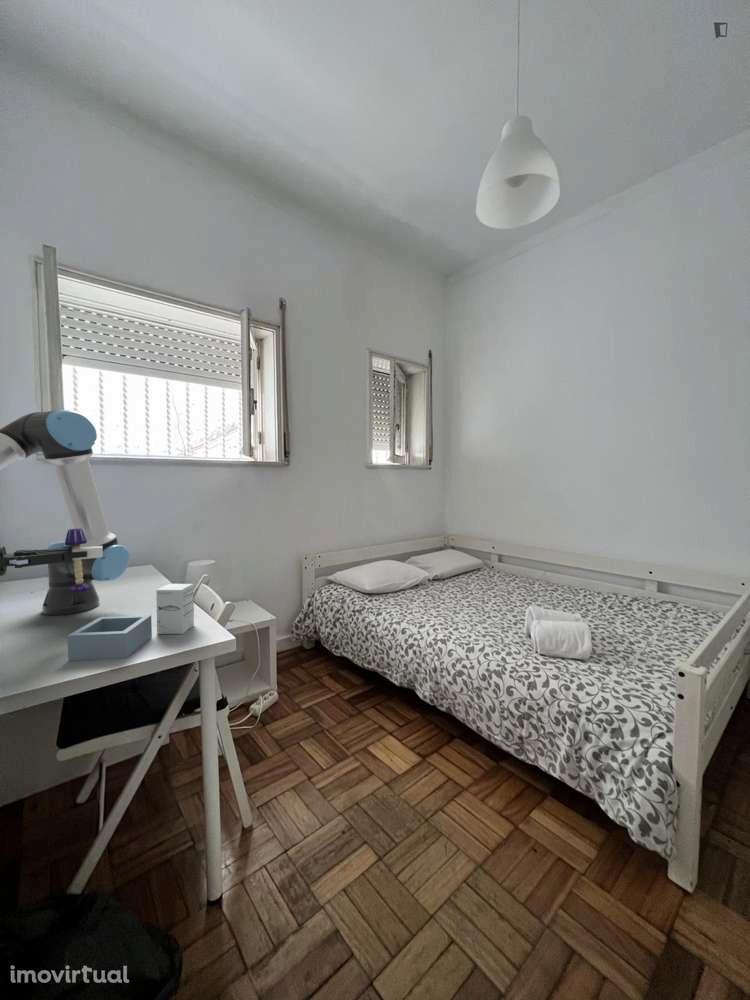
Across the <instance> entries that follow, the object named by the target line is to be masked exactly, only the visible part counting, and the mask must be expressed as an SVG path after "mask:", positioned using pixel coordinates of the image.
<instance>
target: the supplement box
mask: <svg viewBox="0 0 750 1000" xmlns="http://www.w3.org/2000/svg"><path fill="white" fill-rule="evenodd" d="M194 589H195V587H194V583H168V584H165V585H163V586H161V587H159V588H157V589H156V635H163V634H164V635H167V634H168V635H169V634H170V635H171V634H172V635H183V634H185V633H186V632H187V631H189V630H188V629H189V628H190V629H191V628H192V627H193V625H195V611H194V610H195V607H194V605H195V604H194V603H195V602H194V601H195V599H194V598H195V596H194V595H195V594H194V593H195V591H194Z"/></svg>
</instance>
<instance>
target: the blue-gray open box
mask: <svg viewBox="0 0 750 1000" xmlns="http://www.w3.org/2000/svg"><path fill="white" fill-rule="evenodd" d="M152 630H153V628H152V614H149V615H146V614H145V615H123V616H122V615H119V616H118V615H117V616H116V615H115V616H100V617H98V618H96V619H94V620H93V621H91V622H89V623H87V624H85V625H83V626H82V627H80V628H78V629H76V630H75V631H73V632H71V633H69V634H67V636H66V637H67V639H66V640H67V661H68V662H71V661H89V660H90V661H91V660H111V659H112V660H113V659H127V658H129V656H131V655H132V654H133V653H134V652H136V651H137V650H138V649H139V648H141V646H143V645H144V644H146V642H148V641H149V640H150V639H151V638H152V636H153V633H152Z"/></svg>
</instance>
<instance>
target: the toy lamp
mask: <svg viewBox="0 0 750 1000" xmlns="http://www.w3.org/2000/svg"><path fill="white" fill-rule="evenodd" d="M85 543H87V540H86V537H85V535H84V533H83V530H82V529H81V528H76V529H74V528H70V529H69V528H68V530H67V533H66V535H65V545H73V546H72V548H73V549H80V548H81V546H80V544H85ZM81 566H82V562H81V559H79V560H74V567H75V568H74V571H75V578H76V580H75V582H76V584H75V585H73V586H72V587H71V589H70V592H71V593H78V592H84V591H87V590H89V589H90V588H89V586H88V585H87V584H85V583H83V578H82V577H83V573H82V567H81Z"/></svg>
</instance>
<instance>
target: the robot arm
mask: <svg viewBox="0 0 750 1000" xmlns="http://www.w3.org/2000/svg"><path fill="white" fill-rule="evenodd" d="M93 423H94V422H92V420H91V419H90V418H89V417H87V416H86V415H84V414H83V413H80V412H78V411H76V410H66V409H64V410H63V409H58V410H51V411H41V412H40V411H37V412H36V411H35V412H30V413H28V414H25V415H23V416H20V417H18V418H17V419H15V420H13V421H12V422H10V423H7V424H6V425H5V426H3V427H1V428H0V471H1V470H3V469H5V467H7V466H9V465H11V464H12V463H14V462H15V461H23V460H25V459H27V458H28V457H30V456H32V455H36V454H39V453H43V456H44V460H45V461H47V462H49V463H50V464H52V465H53V466H54V470H55V472H56V477H57V479H58V483H59V487H60V488H61V493H62V496H63V499H64V502H65V505H66V508H67V511H68V515H69V518H70V522H71V525H72V529H76V528H81V529H82V530H83V533H84V535H85V537H86V540H87V543H85V544H80V546H81V548H80V549H73V548H72V546H73V545H65V541H58V542H52V543H50V544H49V545H48V546H47V548H46V549H45V548H43V549H18V550H17V549H16V550H15V551H14V552H12V553H7V549H6V547H5V546H4V545H3V544H0V577H2V576H5V575H6V573H7V567H14V569H22V568H25V567H27V568H28V567H33V566H42V565H47V571H48V572H47V576H48V578H47V579H48V589H47V593H46V595H45V598H44V600H43V604H42V606H41V607H42V608H41V609H42V614H43V615H47V616H59V615H61V616H62V615H70V614H75V613H81V612H84V611H89V610H91V609H94V608H96V607H99V606H100V597H99V594H98V592H97V589H96V588H95V585H94V583H93V582H94V581H96V582H110V581H111V582H112V581H114V580H117V579H118V578H120V577H122V576H123V574H125V572H126V570H127V568H128V567H129V565H130V561H131V556H130V551H129V549H128V548H126V547H125V546H123V545H122V544H119V542H118V538H117V536H116V534H115V533H112V532H110V530H109V527H108V523H107V519H106V515H105V513H104V509H103V505H102V502H101V498H100V495H99V491H98V487H97V484H96V480H95V478H94V473H93V470H92V467H91V464H90V459H91V457H92V456H93V455H94V451H93V448H92V447H94V445H95V444H96V441H97V438H98V436H97V435H98V434H97V429H96V426H95V425H94V424H93ZM79 559H81V562H82V566H81V567H82V573H83V577H82V578H83V583H85V584H87V585H88V586H89V588H90V589H89V590H87V591H84V592H78V593H71V592H70V589H71V587H72V586H73V585H75V584H76V582H75V580H76V578H75V571H74V568H75V567H74V560H79Z"/></svg>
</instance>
